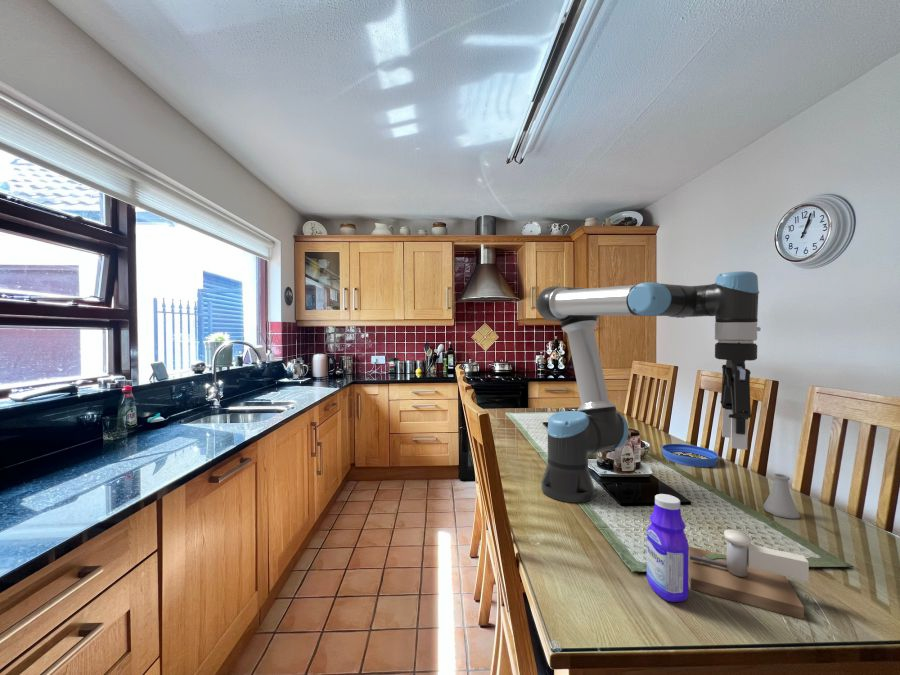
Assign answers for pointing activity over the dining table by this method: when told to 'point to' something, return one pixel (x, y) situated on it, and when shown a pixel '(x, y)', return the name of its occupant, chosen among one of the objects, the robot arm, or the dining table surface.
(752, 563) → the peg
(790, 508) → the flask
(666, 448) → the bowl
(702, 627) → the dining table surface
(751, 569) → the board
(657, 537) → the bottle
